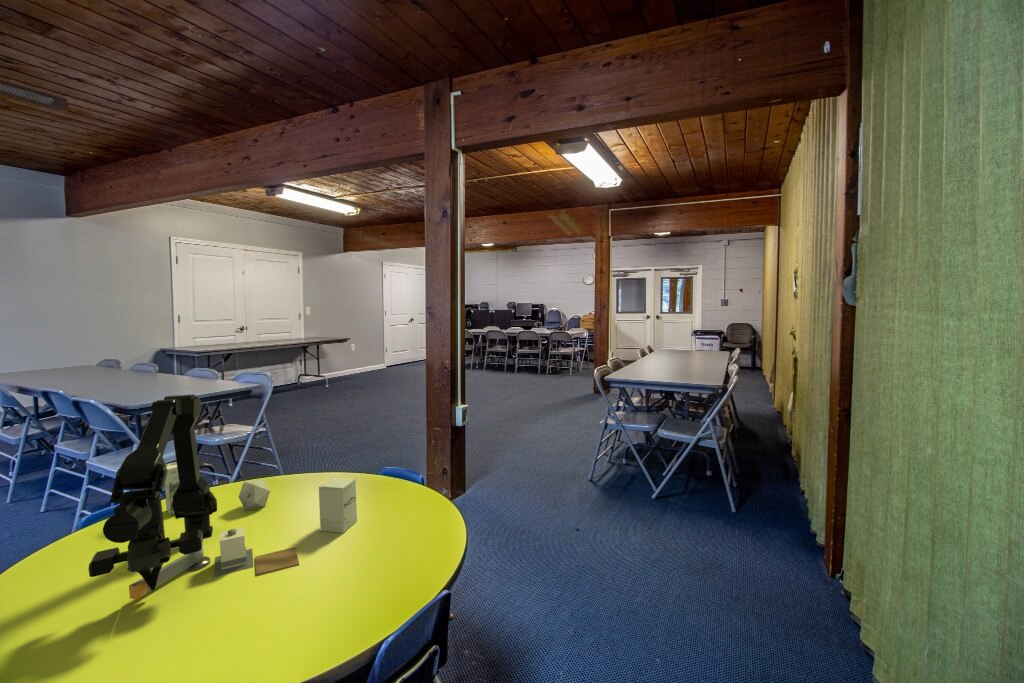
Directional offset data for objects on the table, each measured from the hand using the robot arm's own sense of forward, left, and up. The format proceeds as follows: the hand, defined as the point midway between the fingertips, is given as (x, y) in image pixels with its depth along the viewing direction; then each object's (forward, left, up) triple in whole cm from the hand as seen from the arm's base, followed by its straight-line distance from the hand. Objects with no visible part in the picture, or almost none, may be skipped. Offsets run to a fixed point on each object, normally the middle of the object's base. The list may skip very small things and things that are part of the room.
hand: (153, 589), depth 103 cm
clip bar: (-6, +2, -1) cm, 6 cm away
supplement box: (-14, +40, -2) cm, 43 cm away
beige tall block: (-7, +15, -2) cm, 17 cm away
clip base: (-10, +7, -2) cm, 13 cm away
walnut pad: (-2, +24, -2) cm, 24 cm away
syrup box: (-50, 0, -2) cm, 51 cm away
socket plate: (-7, +15, -2) cm, 17 cm away
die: (-41, +20, -2) cm, 46 cm away
